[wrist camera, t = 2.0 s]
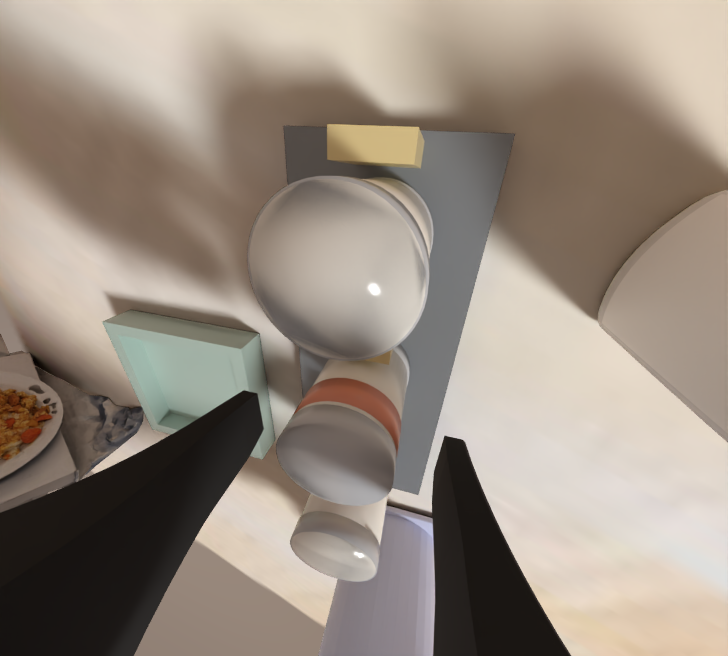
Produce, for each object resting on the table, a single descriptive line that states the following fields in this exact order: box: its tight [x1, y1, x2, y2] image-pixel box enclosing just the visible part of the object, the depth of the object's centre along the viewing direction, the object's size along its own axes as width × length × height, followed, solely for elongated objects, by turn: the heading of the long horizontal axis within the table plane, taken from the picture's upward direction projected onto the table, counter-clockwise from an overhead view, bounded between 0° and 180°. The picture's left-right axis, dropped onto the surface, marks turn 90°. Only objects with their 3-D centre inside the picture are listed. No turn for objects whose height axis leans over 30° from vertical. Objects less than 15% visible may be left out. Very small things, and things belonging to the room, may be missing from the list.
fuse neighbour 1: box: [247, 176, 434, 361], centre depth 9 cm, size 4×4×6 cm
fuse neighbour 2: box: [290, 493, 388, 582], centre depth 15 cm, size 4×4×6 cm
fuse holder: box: [284, 124, 515, 495], centre depth 14 cm, size 20×8×4 cm, turn 177°
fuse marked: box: [276, 344, 410, 506], centre depth 12 cm, size 4×4×6 cm
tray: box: [102, 310, 275, 460], centre depth 19 cm, size 10×10×2 cm
